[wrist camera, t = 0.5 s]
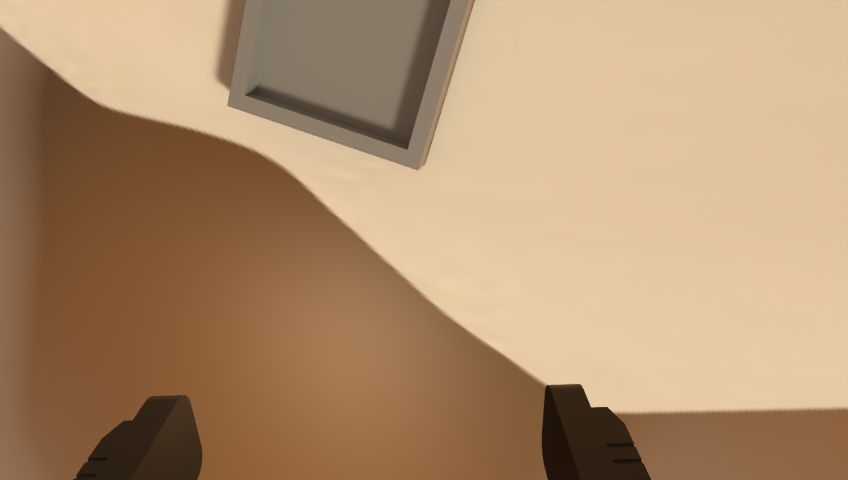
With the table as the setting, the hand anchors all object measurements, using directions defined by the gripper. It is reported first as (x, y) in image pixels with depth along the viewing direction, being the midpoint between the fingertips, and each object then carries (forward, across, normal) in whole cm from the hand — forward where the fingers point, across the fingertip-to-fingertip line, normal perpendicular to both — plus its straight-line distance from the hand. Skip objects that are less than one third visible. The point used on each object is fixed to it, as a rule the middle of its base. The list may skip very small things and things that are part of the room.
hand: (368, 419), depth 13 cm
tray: (+28, +2, -6) cm, 29 cm away
